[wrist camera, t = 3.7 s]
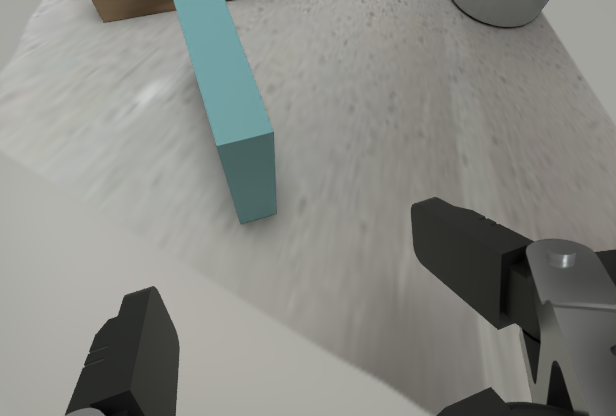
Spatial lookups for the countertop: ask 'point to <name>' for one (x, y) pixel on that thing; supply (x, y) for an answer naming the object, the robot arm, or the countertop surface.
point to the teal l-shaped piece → (231, 106)
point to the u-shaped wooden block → (131, 8)
